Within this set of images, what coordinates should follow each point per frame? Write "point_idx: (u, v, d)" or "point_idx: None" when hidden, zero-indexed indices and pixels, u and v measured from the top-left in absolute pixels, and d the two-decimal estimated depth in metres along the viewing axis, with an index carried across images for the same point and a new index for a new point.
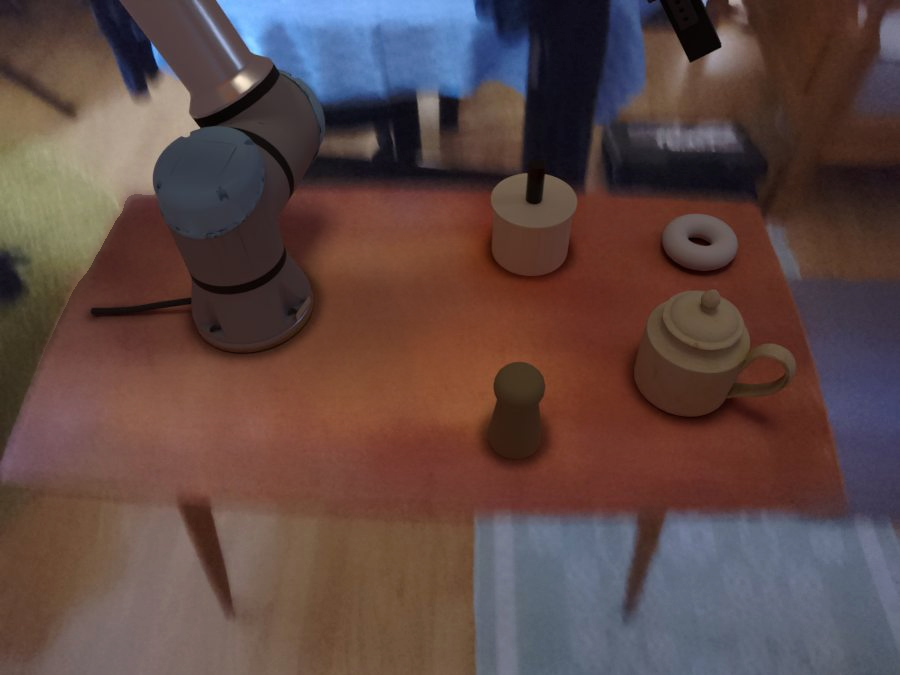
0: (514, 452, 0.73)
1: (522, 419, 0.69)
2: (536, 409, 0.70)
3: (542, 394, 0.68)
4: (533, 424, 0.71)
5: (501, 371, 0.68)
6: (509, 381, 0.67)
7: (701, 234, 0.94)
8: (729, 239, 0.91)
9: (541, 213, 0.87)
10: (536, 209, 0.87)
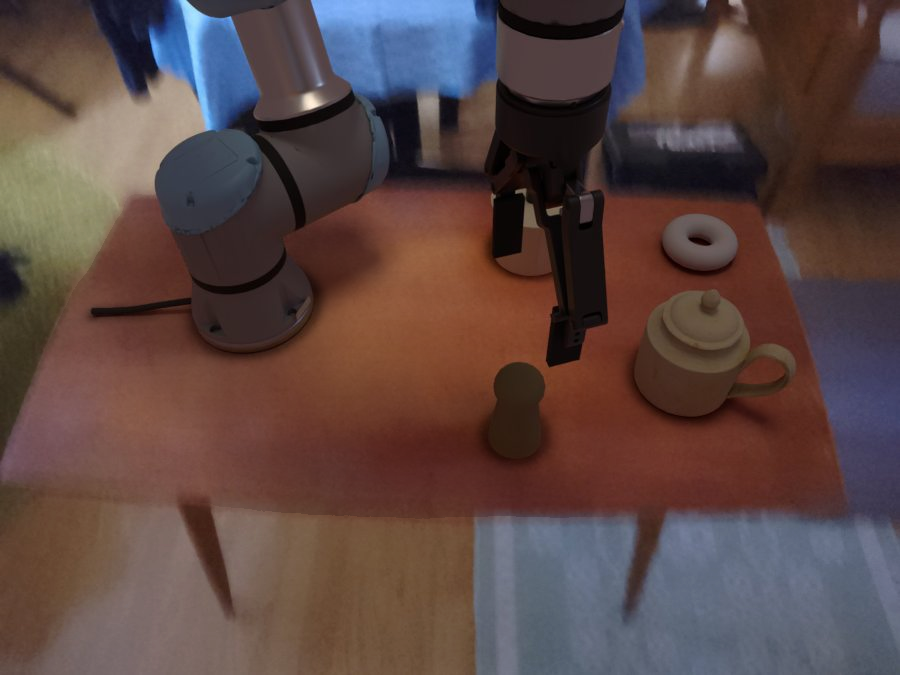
0: (514, 452, 0.73)
1: (522, 419, 0.69)
2: (536, 409, 0.70)
3: (542, 394, 0.68)
4: (533, 424, 0.71)
5: (501, 371, 0.68)
6: (509, 381, 0.67)
7: (701, 234, 0.94)
8: (729, 239, 0.91)
9: None
10: None
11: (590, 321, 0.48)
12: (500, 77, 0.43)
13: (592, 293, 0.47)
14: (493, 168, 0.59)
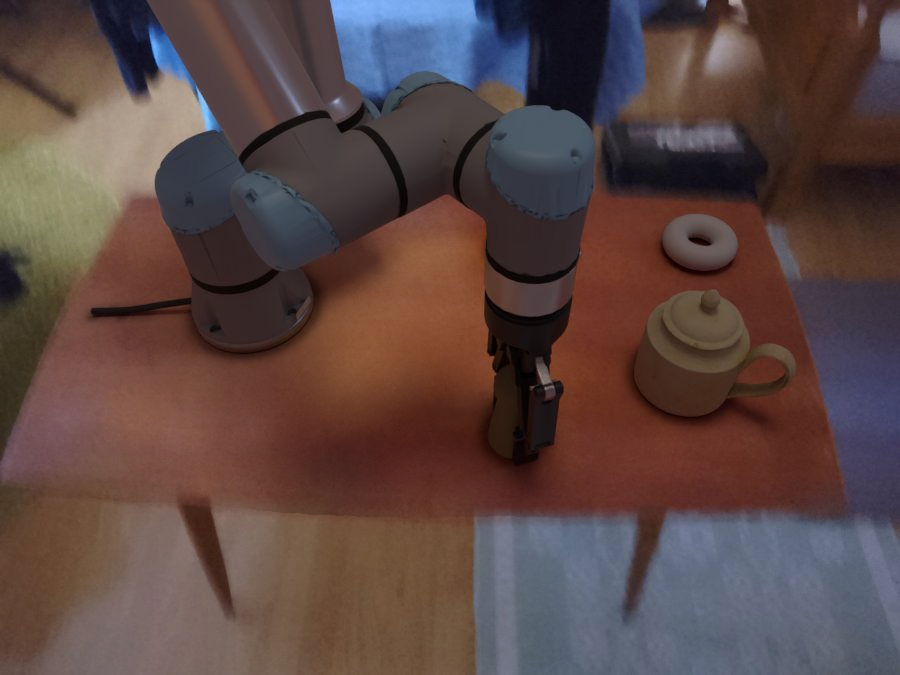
0: None
1: None
2: None
3: None
4: None
5: (501, 371, 0.68)
6: (509, 381, 0.67)
7: (701, 234, 0.94)
8: (729, 239, 0.91)
9: None
10: None
11: (541, 446, 0.65)
12: (487, 292, 0.57)
13: (545, 433, 0.64)
14: (493, 348, 0.72)
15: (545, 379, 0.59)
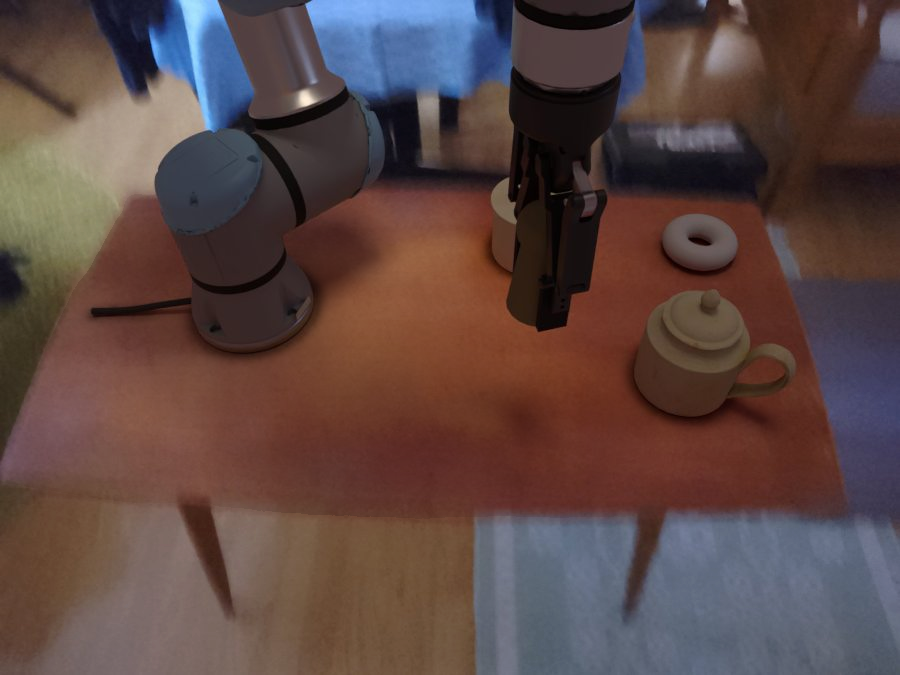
0: None
1: None
2: None
3: None
4: None
5: (526, 207, 0.57)
6: (536, 216, 0.55)
7: (701, 234, 0.94)
8: (729, 239, 0.91)
9: None
10: None
11: (573, 290, 0.54)
12: (514, 64, 0.45)
13: (580, 270, 0.52)
14: (516, 188, 0.60)
15: (584, 186, 0.47)
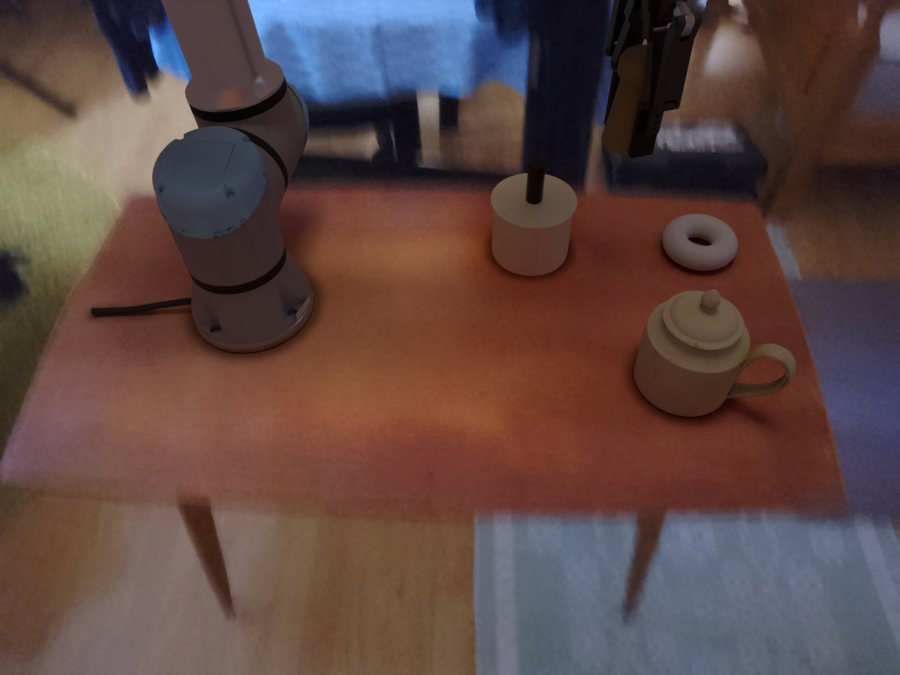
0: None
1: None
2: None
3: None
4: None
5: (626, 50, 0.73)
6: (636, 54, 0.71)
7: (701, 234, 0.94)
8: (729, 239, 0.91)
9: (541, 213, 0.87)
10: (536, 209, 0.87)
11: (668, 106, 0.70)
12: None
13: (674, 87, 0.68)
14: (613, 43, 0.76)
15: (684, 10, 0.63)
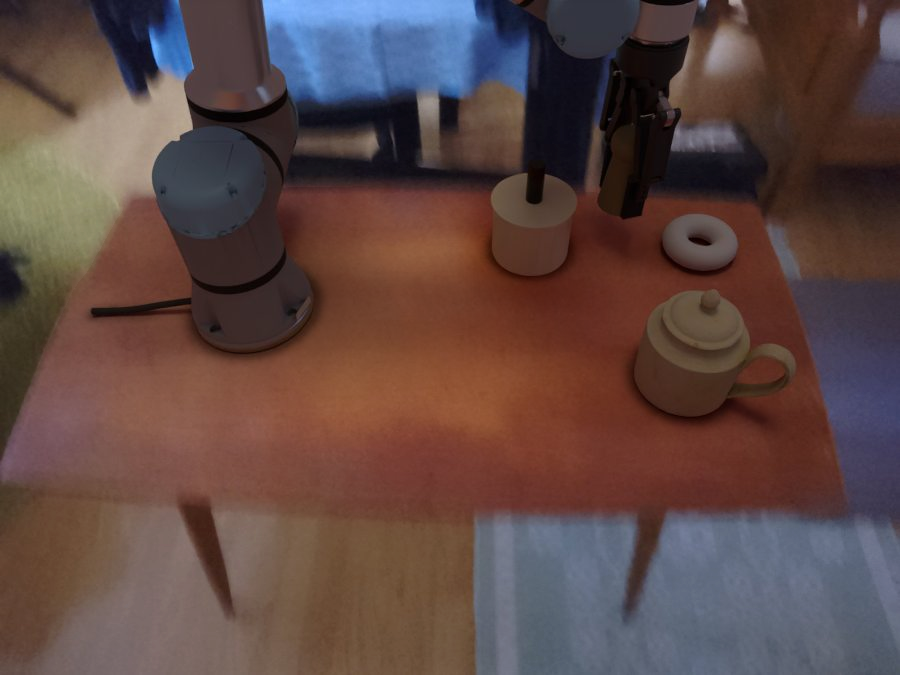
0: None
1: None
2: None
3: None
4: None
5: (618, 129, 0.84)
6: (626, 134, 0.83)
7: (701, 234, 0.94)
8: (729, 239, 0.91)
9: (541, 213, 0.87)
10: (536, 209, 0.87)
11: (653, 181, 0.81)
12: None
13: (659, 165, 0.80)
14: (606, 120, 0.88)
15: (666, 106, 0.75)
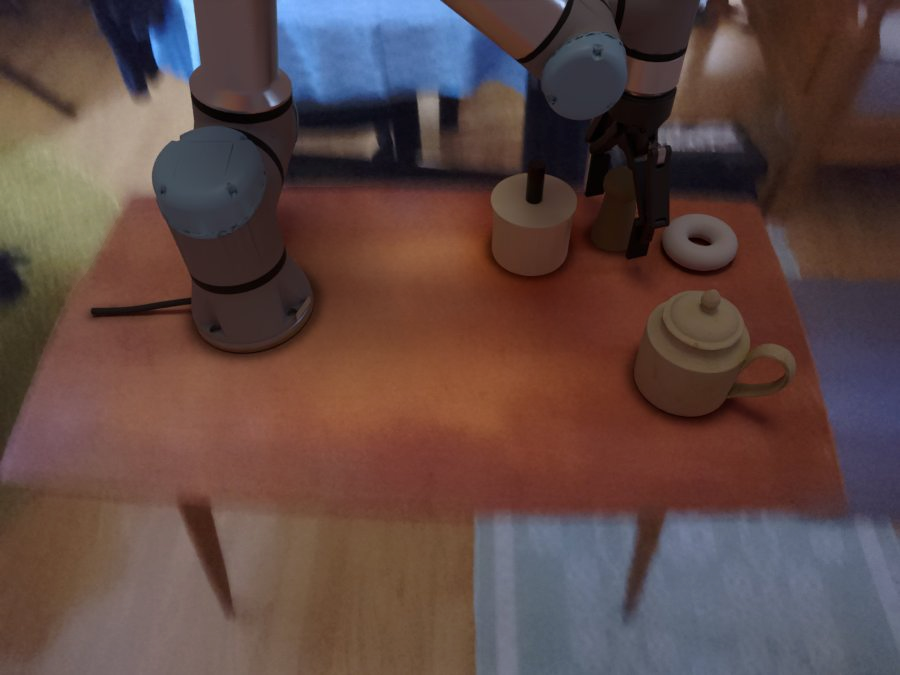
0: (614, 244, 0.94)
1: (625, 210, 0.90)
2: (635, 204, 0.91)
3: None
4: (632, 218, 0.92)
5: (610, 171, 0.89)
6: (618, 176, 0.88)
7: (701, 234, 0.94)
8: (729, 239, 0.91)
9: (541, 213, 0.87)
10: (536, 209, 0.87)
11: (659, 223, 0.82)
12: None
13: (661, 206, 0.81)
14: (592, 137, 0.93)
15: (656, 145, 0.79)
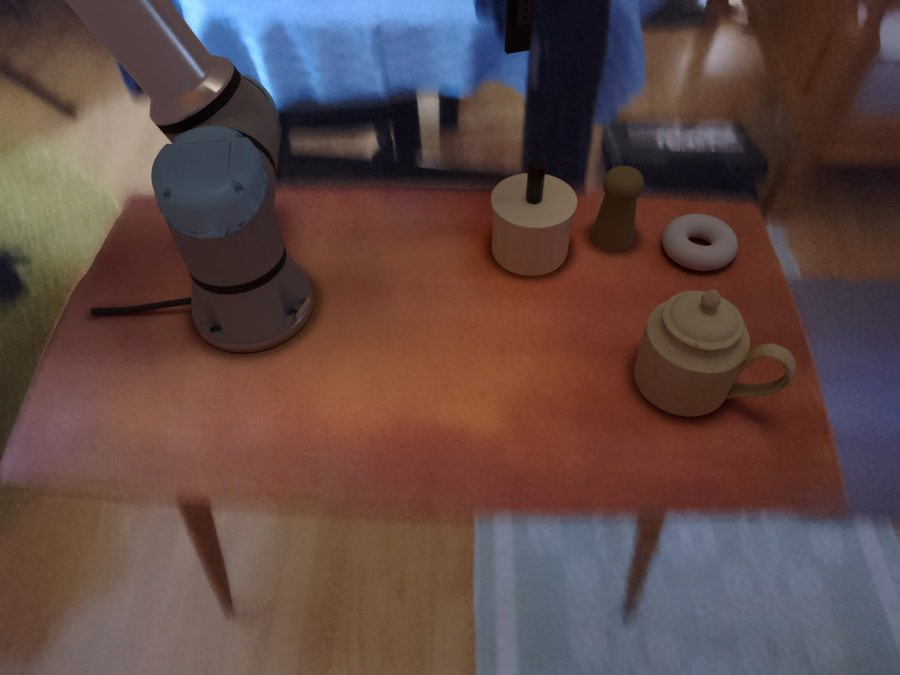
0: (614, 244, 0.94)
1: (625, 210, 0.90)
2: (635, 204, 0.91)
3: (642, 187, 0.88)
4: (632, 218, 0.92)
5: (610, 171, 0.89)
6: (618, 176, 0.88)
7: (701, 234, 0.94)
8: (729, 239, 0.91)
9: (541, 213, 0.87)
10: (536, 209, 0.87)
11: None
12: None
13: None
14: None
15: None
